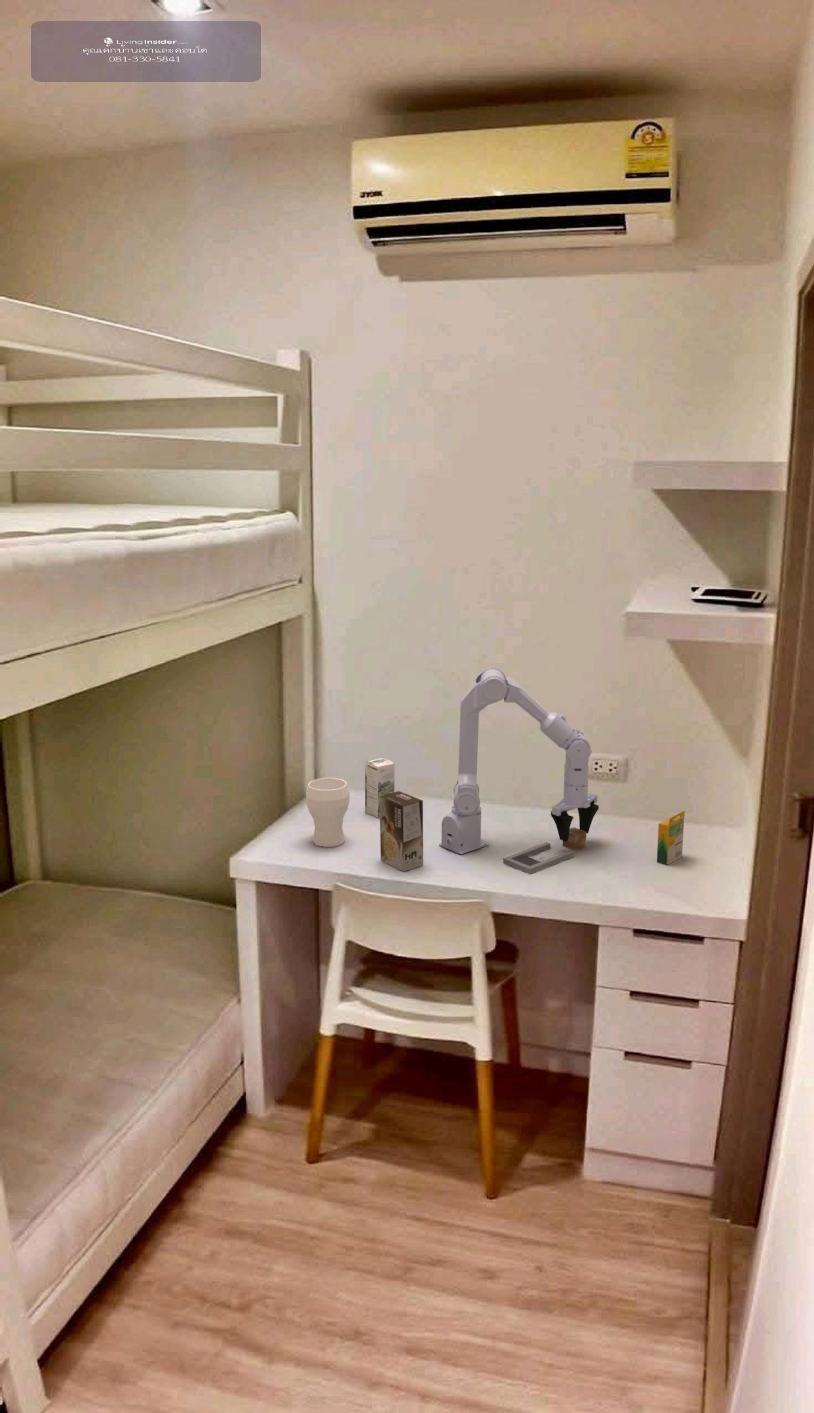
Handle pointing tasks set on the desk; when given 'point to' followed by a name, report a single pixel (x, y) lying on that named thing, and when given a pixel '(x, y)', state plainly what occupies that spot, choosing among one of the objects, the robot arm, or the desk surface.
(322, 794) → the cup
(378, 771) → the syrup box
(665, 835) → the crayon box
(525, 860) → the pad
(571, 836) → the walnut block
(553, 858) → the guide channel
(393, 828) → the coffee box
